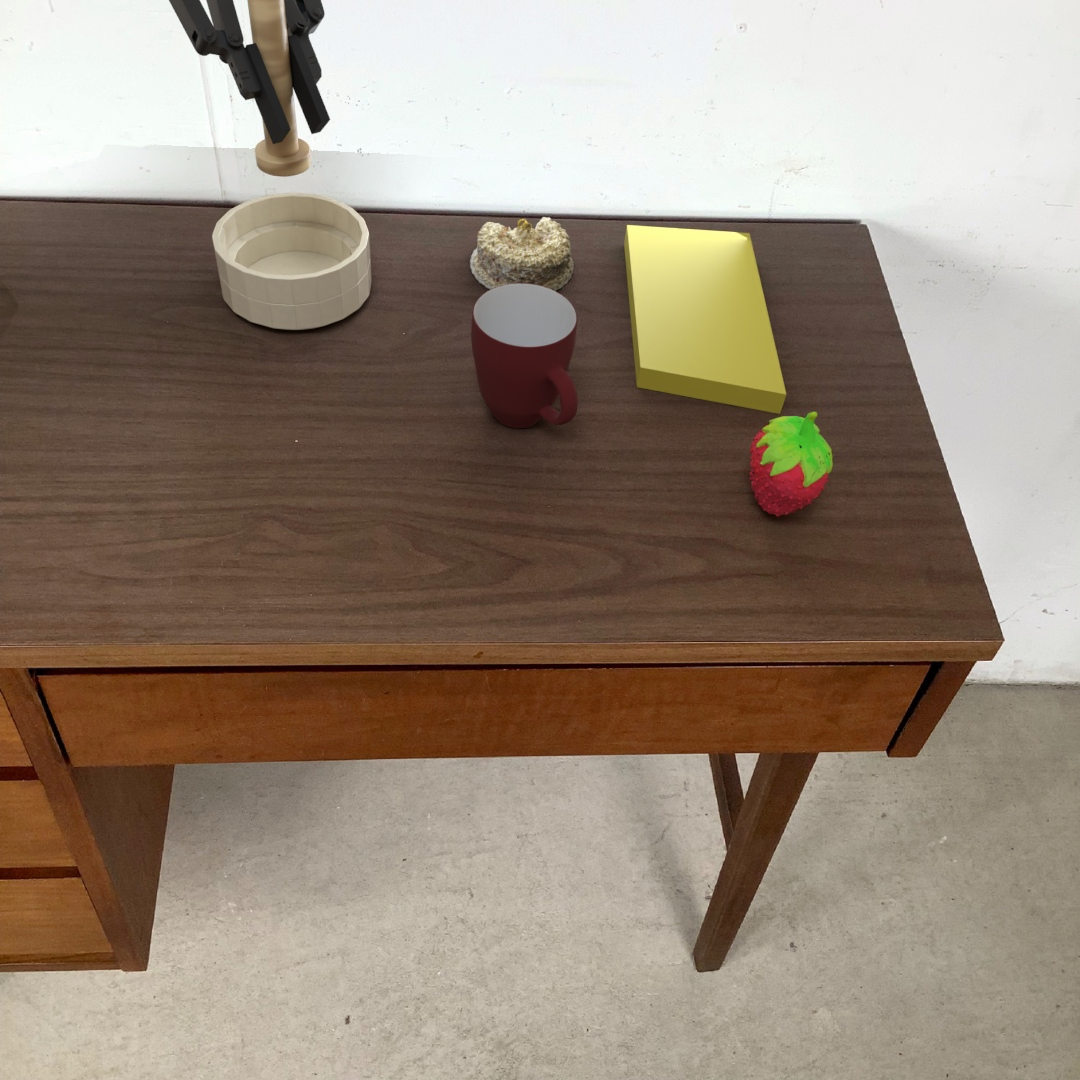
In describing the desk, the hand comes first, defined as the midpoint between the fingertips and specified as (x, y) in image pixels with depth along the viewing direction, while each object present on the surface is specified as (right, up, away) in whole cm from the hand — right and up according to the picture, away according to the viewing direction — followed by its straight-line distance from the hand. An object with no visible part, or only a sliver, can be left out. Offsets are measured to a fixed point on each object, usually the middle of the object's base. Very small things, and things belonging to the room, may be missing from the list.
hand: (301, 131), depth 82 cm
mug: (+17, -22, +6) cm, 28 cm away
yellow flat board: (+33, -11, +17) cm, 38 cm away
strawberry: (+37, -29, +2) cm, 47 cm away
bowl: (-4, -9, +15) cm, 18 cm away
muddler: (-3, -1, +5) cm, 6 cm away
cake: (+17, -5, +21) cm, 27 cm away
